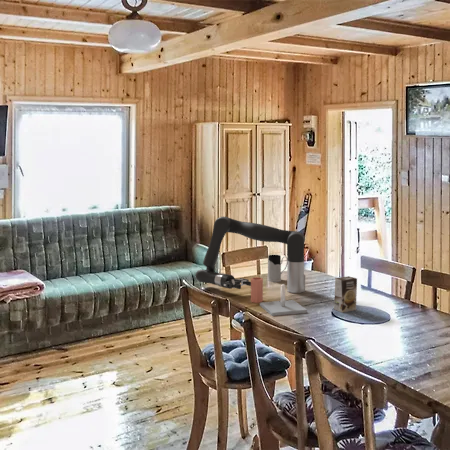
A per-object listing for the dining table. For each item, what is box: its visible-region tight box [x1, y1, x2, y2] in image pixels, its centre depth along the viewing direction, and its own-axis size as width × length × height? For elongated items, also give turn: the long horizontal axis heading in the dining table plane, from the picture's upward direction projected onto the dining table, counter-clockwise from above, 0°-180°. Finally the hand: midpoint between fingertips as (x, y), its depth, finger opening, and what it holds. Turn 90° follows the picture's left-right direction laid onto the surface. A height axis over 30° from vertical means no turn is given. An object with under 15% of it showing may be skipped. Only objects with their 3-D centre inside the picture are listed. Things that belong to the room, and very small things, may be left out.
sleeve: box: [250, 276, 264, 304], centre depth 285 cm, size 6×6×12 cm
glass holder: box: [266, 254, 288, 283], centre depth 331 cm, size 9×14×15 cm, turn 120°
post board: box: [259, 283, 308, 317], centre depth 271 cm, size 18×18×13 cm
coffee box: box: [333, 276, 358, 313], centre depth 269 cm, size 9×6×16 cm
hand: (246, 285), depth 291 cm, fingers open, 8 cm apart
